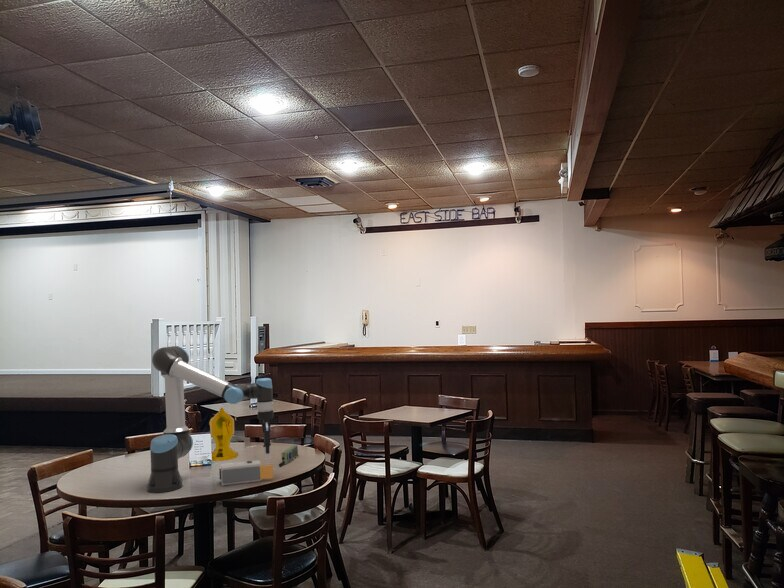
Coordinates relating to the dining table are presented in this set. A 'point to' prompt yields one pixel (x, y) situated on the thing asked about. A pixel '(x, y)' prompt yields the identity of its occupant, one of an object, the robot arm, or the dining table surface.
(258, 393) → the robot arm
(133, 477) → the dining table surface
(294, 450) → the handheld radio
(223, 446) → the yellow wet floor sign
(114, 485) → the dining table surface
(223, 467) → the camera housing
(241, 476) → the side door
